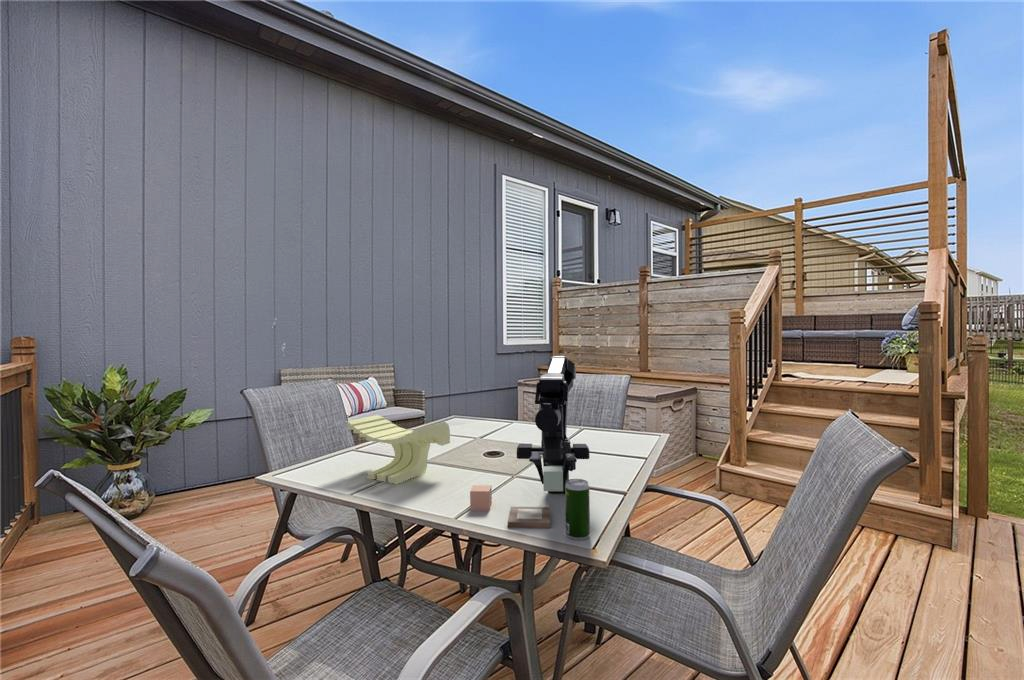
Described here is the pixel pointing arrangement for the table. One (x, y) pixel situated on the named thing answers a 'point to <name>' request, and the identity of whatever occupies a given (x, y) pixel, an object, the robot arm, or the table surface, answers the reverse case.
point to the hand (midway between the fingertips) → (553, 483)
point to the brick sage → (553, 478)
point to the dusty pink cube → (480, 497)
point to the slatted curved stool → (401, 445)
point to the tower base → (529, 517)
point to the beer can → (577, 509)
